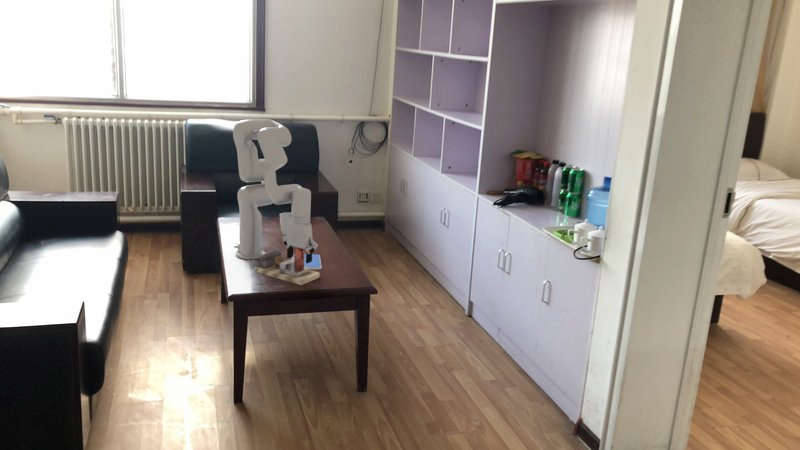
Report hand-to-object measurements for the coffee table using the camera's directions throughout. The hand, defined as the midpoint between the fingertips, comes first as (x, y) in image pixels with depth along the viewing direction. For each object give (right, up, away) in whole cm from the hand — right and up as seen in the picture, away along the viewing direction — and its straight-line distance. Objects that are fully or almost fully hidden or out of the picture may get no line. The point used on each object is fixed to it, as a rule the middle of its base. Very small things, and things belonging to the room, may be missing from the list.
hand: (299, 259), depth 276 cm
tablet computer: (0, -3, +22) cm, 22 cm away
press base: (-5, -6, +5) cm, 9 cm away
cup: (-15, +9, +61) cm, 63 cm away
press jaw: (-2, -5, +2) cm, 6 cm away
